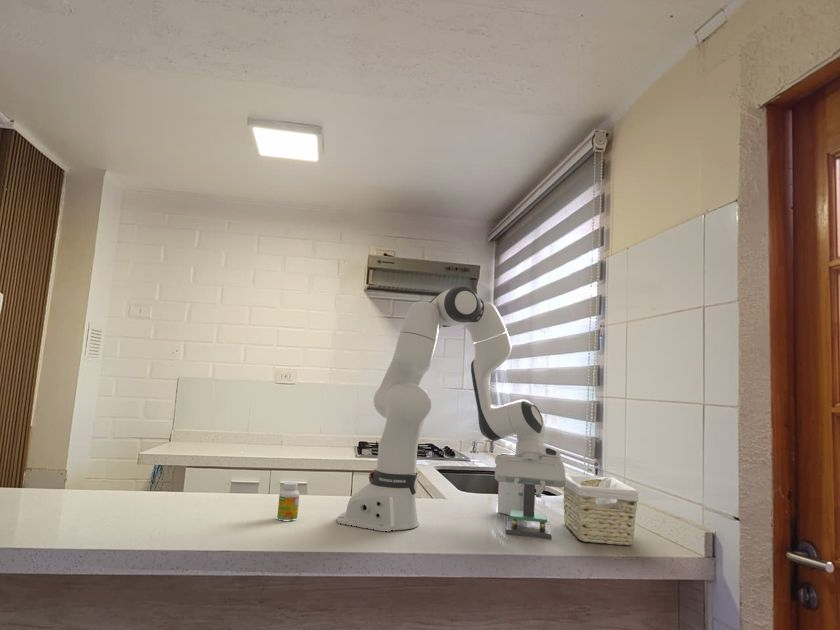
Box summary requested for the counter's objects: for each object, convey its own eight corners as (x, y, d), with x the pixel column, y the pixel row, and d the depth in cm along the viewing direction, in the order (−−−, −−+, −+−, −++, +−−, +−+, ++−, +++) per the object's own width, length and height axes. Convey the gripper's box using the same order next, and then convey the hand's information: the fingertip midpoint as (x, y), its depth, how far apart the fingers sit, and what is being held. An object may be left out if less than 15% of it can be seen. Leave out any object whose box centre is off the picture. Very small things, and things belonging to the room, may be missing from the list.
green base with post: (510, 518, 149) (511, 485, 150) (510, 512, 156) (512, 481, 158) (547, 522, 147) (548, 489, 148) (546, 516, 154) (547, 484, 156)
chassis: (505, 533, 146) (506, 520, 147) (507, 523, 158) (508, 510, 159) (551, 538, 144) (551, 524, 144) (549, 528, 156) (549, 515, 156)
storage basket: (559, 521, 165) (561, 472, 167) (613, 526, 163) (614, 476, 165) (576, 544, 141) (578, 486, 143) (640, 549, 140) (640, 490, 142)
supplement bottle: (273, 520, 146) (276, 483, 147) (282, 516, 151) (286, 480, 152) (291, 522, 144) (294, 485, 146) (300, 518, 150) (303, 482, 151)
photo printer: (495, 512, 172) (496, 472, 174) (504, 510, 175) (505, 471, 176) (520, 519, 164) (521, 477, 166) (529, 518, 167) (530, 477, 168)
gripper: (495, 446, 163) (492, 484, 152) (565, 452, 159) (566, 492, 148) (495, 459, 166) (492, 498, 156) (564, 465, 162) (565, 505, 152)
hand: (529, 495), depth 152 cm, fingers open, 4 cm apart
